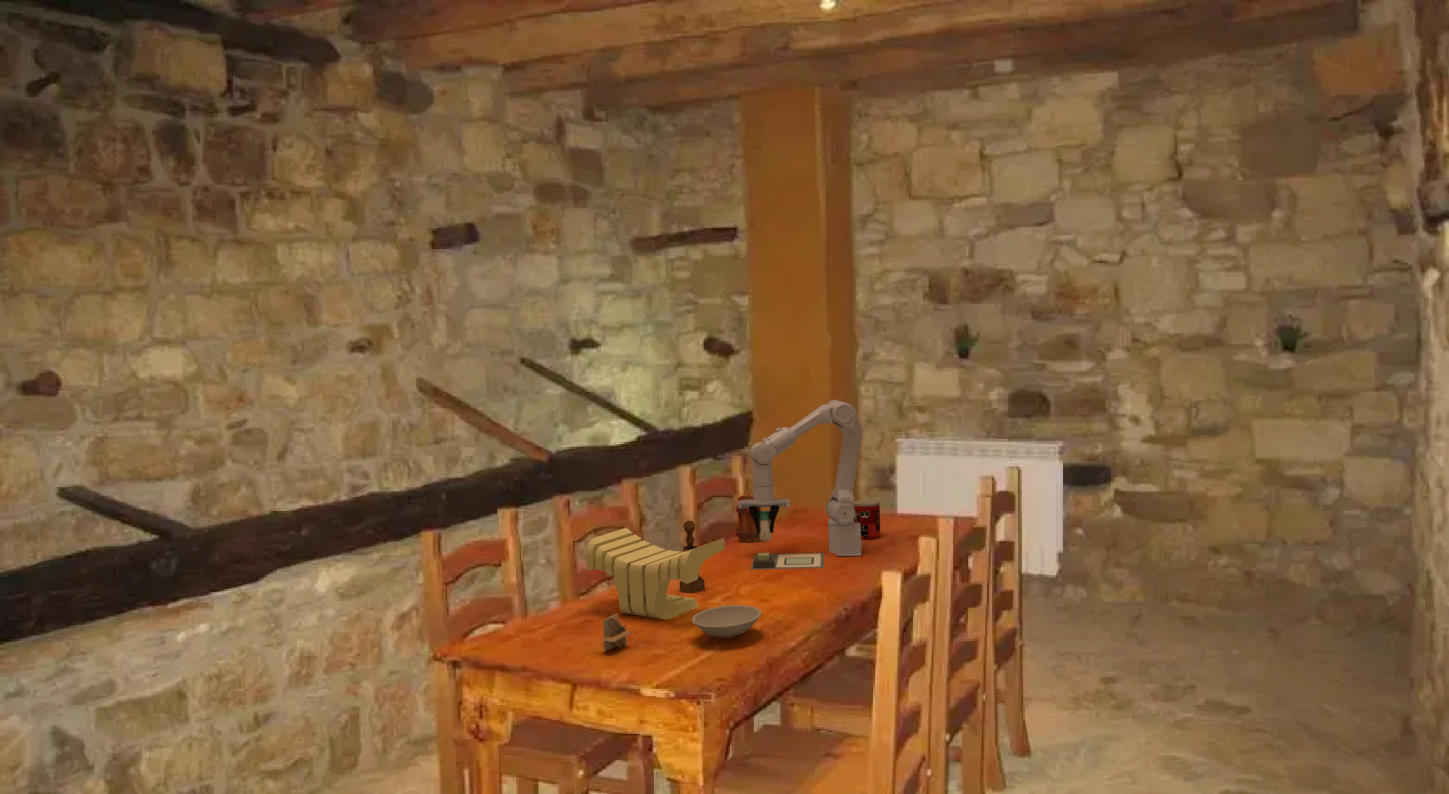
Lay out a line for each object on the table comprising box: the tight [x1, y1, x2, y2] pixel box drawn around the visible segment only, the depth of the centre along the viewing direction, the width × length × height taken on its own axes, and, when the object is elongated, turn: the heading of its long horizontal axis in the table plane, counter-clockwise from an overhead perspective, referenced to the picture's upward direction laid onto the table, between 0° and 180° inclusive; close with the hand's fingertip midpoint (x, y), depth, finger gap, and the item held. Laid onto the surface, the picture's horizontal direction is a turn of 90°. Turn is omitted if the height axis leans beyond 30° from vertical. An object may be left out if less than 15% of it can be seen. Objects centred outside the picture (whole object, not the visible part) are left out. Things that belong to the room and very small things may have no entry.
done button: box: [757, 552, 770, 561], centre depth 316 cm, size 3×3×2 cm
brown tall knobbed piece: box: [678, 520, 705, 594], centre depth 296 cm, size 7×6×18 cm
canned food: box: [853, 499, 881, 541], centre depth 350 cm, size 8×8×11 cm
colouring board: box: [750, 552, 825, 571], centre depth 320 cm, size 20×18×3 cm
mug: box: [735, 489, 762, 544], centre depth 352 cm, size 15×8×15 cm, turn 179°
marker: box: [758, 510, 772, 542], centre depth 325 cm, size 3×3×8 cm
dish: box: [691, 604, 763, 639], centre depth 254 cm, size 18×14×5 cm
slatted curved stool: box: [585, 527, 726, 620], centre depth 277 cm, size 30×16×18 cm, turn 56°
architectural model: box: [601, 613, 632, 653], centre depth 249 cm, size 3×7×7 cm, turn 151°
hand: (765, 532), depth 325 cm, fingers closed on marker, 3 cm apart
